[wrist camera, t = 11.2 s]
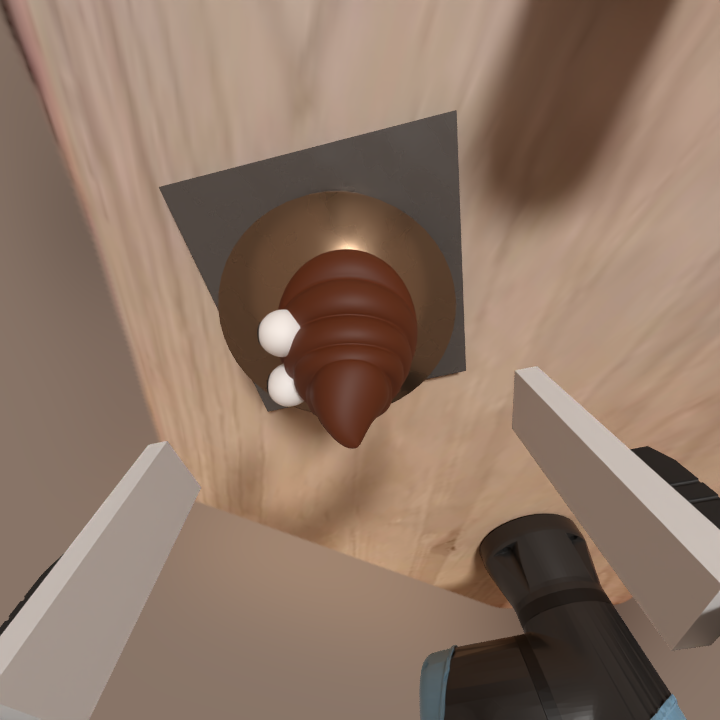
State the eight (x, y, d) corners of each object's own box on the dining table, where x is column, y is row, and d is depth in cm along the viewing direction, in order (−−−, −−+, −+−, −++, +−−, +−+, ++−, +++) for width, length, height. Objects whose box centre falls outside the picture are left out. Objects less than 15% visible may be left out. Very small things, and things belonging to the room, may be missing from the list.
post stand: (462, 365, 30) (493, 411, 24) (269, 405, 31) (252, 458, 25) (451, 113, 20) (500, 81, 14) (166, 187, 21) (94, 187, 15)
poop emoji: (403, 388, 22) (439, 505, 14) (286, 391, 22) (254, 513, 14) (417, 245, 17) (487, 299, 9) (265, 245, 17) (195, 302, 8)
